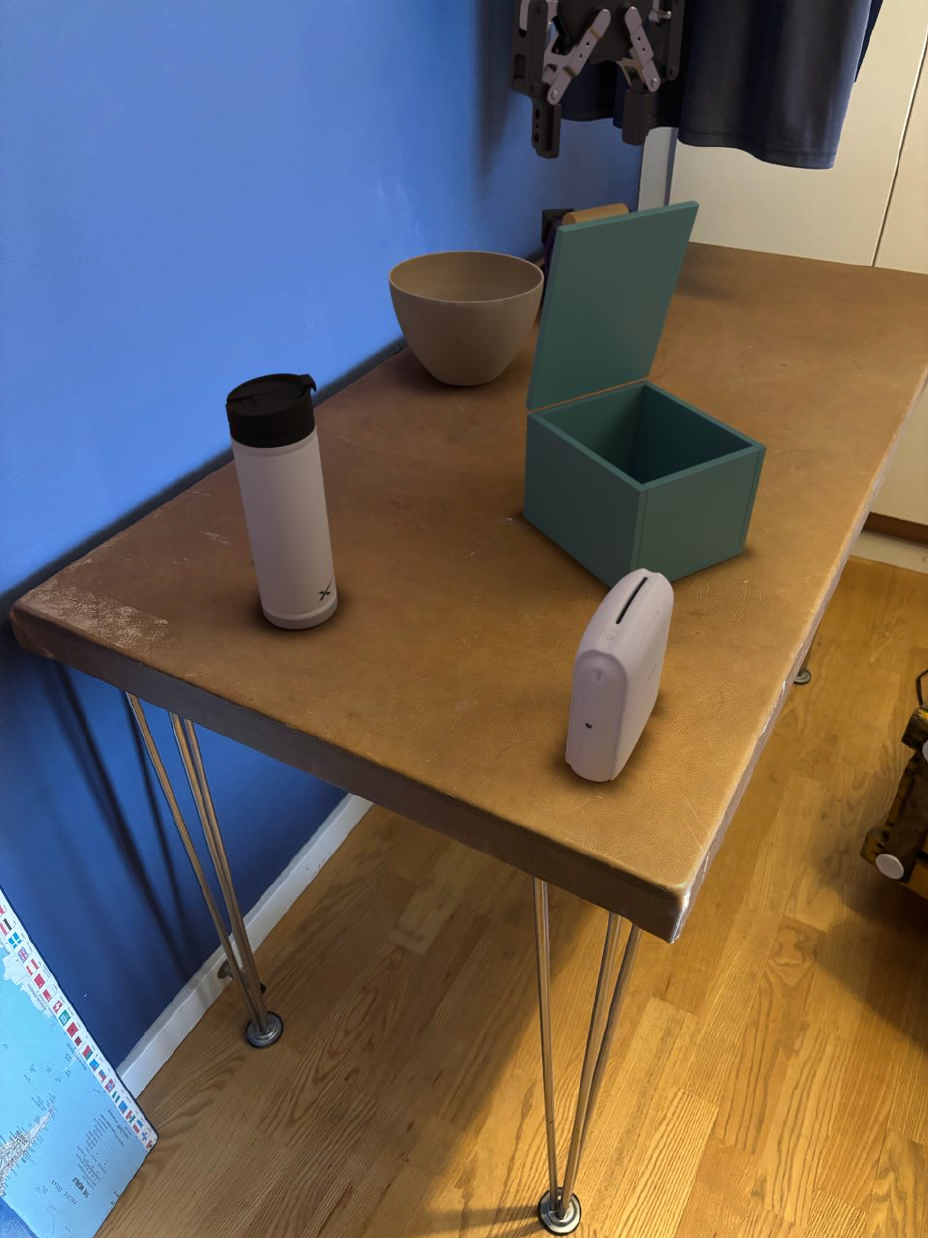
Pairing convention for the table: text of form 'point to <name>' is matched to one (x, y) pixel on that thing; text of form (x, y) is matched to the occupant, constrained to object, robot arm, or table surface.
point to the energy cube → (551, 238)
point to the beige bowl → (465, 311)
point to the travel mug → (283, 497)
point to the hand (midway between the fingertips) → (591, 150)
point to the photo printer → (618, 674)
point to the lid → (607, 298)
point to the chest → (640, 482)
